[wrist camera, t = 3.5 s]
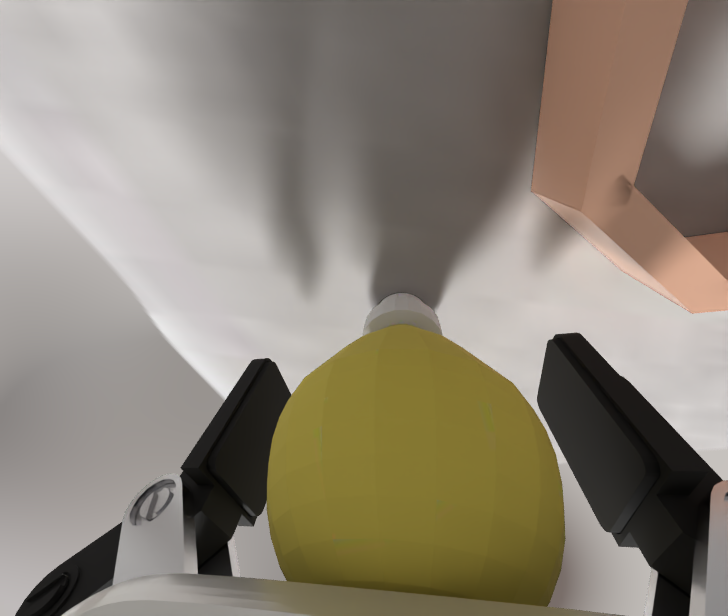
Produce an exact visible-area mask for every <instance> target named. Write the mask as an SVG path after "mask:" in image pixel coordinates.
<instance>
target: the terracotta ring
mask: <svg viewBox="0 0 728 616" xmlns="http://www.w3.org/2000/svg"><path fill="white" fill-rule="evenodd" d="M687 3H688V0H553V2H552V11H551V19H550V28H549V37H548V46H547V55H546V64H545V72H544V81H543V90H542V99H541V108H540V117H539V125H538V134H537V143H536V152H535V161H534V170H533V178H532V187H531V192H533V193H534V194H535V195H536V196H537V197H539V198H540V199H541V200H542V201H543V202H544V203H545V204H546V205H548V206H549V207H550V208H551V209H552V210H553V211H554V212H556V213H557V214H558V215H559V216H560V217H561V218H562V219H563V220H565V221H566V222H567V223H568V224H569V225H570V226H571V227H573V228H574V229H575V230H576V231H577V232H578V233H579V234H580V235H582V236H583V237H584V238H585V239H586V240H587V241H588V242H590V243H591V244H592V245H593V246H594V247H595V248H596V249H598V250H599V251H600V252H601V253H602V254H603V255H604V256H605V257H607V258H608V259H609V260H610V261H611V262H612V263H613V264H615V265H616V266H617V267H618V268H619V269H620V270H621V271H623V272H624V273H626V274H628V275H629V276H631V277H633V278H634V279H636V280H638V281H639V282H641V283H643V284H644V285H646V286H647V287H649V288H651V289H652V290H654V291H656V292H657V293H659V294H661V295H662V296H664V297H666V298H667V299H669V300H671V301H672V302H674V303H676V304H677V305H679V306H681V307H682V308H684V309H686V310H687V311H689V312H691V313H703V312H714V311H725V310H728V232H722V233H714V234H707V235H699V236H692V237H684V236H683V235H682V234H681V233H680V232H679V231H678V230H677V229H676V228H675V227H674V226H673V225H672V224H671V223H670V222H669V221H668V220H667V219H666V218H665V217H664V216H663V215H662V214H661V213H660V212H659V211H658V210H657V209H656V208H655V207H654V206H653V205H652V204H651V203H650V202H649V201H648V200H647V199H646V198H645V197H644V196H643V195H642V194H641V193H640V192H639V191H638V190H637V189H636V188H635V187H634V183H635V179H636V176H637V173H638V169H639V166H640V163H641V159H642V156H643V152H644V149H645V146H646V142H647V139H648V135H649V132H650V129H651V125H652V122H653V118H654V115H655V112H656V108H657V105H658V102H659V98H660V95H661V91H662V88H663V85H664V81H665V78H666V74H667V71H668V68H669V64H670V61H671V58H672V54H673V51H674V47H675V44H676V41H677V37H678V34H679V30H680V27H681V24H682V20H683V17H684V14H685V10H686V7H687Z"/></svg>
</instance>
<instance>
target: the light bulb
mask: <svg viewBox="0 0 728 616" xmlns="http://www.w3.org/2000/svg"><path fill="white" fill-rule="evenodd" d="M267 514H268V521H269V528H270V535H271V540H272V543H273V545H274V549H275V552H276V556H277V559H278V562H279V565H280V568H281V570H282V572H283V574H284V576H285V578H286V580H287V581H289V582H300V583H311V584H322V585H332V586H342V587H353V588H363V589H374V590H384V591H394V592H404V593H415V594H425V595H435V596H446V597H456V598H465V599H475V600H485V601H495V602H505V603H514V604H524V605H534V606H544V607H547V606H548V604H549V603H550V600H551V597H552V594H553V592H554V589H555V586H556V583H557V580H558V577H559V574H560V571H561V566H562V559H563V551H564V544H565V521H564V502H563V490H562V481H561V477H560V472H559V467H558V463H557V458H556V454H555V452H554V449H553V447H552V444H551V442H550V439H549V437H548V434H547V432H546V429H545V428H544V426H543V424H542V423H541V421H540V419H539V418H538V416H537V414H536V413H535V411H534V410H533V408H532V407H531V406H530V404H529V403H528V402H527V400H526V399H525V398H524V397H523V395H522V394H521V393H520V391H519V390H518V389H517V388H516V386H515V385H514V384H513V383H512V382H511V381H509V380H508V379H506V378H505V377H503V376H502V375H501V374H499V373H498V372H496V371H495V370H493V369H492V368H491V367H489V366H488V365H486V364H485V363H483V362H482V361H481V360H479V359H478V358H476V357H475V356H473V355H472V354H471V353H469V352H468V351H466V350H465V349H463V348H462V347H460V346H459V345H457V344H455V343H454V342H452V341H450V340H449V339H447V338H445V337H444V336H443V335H442V331H441V326H440V323H439V320H438V317H437V315H436V314H435V312H434V311H433V310H432V309H431V308H430V307H429V306H427V305H426V304H424V303H423V302H422V301H421V299H419V298H417V297H416V296H414V295H411V294H408V293H396V294H393V295H389V296H388V297H386V298H385V299H383V300H382V301H381V303H380V304H379V305H377V306H376V307H374V308H373V309H372V311H371V312H370V313H369V315H368V316H367V319H366V322H365V325H364V331H363V336H362V337H361V338H359V339H357V340H356V341H354V342H352V343H351V344H349V345H348V346H346V347H345V348H343V349H342V350H341V351H339V352H338V353H337V354H335V355H334V356H333V357H331V358H330V359H329V360H327V361H326V362H325V363H323V364H322V365H321V366H319V367H318V368H317V369H315V370H314V371H313V372H311V373H310V374H309V375H307V376H306V377H305V378H304V379H303V381H302V382H301V383H300V385H299V386H298V387H297V389H296V390H295V391H294V393H293V394H292V396H291V397H290V398H289V400H288V402H287V403H286V405H285V407H284V409H283V411H282V413H281V415H280V417H279V420H278V423H277V426H276V429H275V432H274V435H273V438H272V444H271V450H270V457H269V463H268V477H267Z"/></svg>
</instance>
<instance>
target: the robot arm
mask: <svg viewBox="0 0 728 616" xmlns="http://www.w3.org/2000/svg"><path fill="white" fill-rule="evenodd" d="M290 397H291V393H290V391H289V389H288V387H287V385H286V383H285V381H284V379H283V377H282V375H281V373H280V371H279V369H278V367H277V365H276V363H275V362H272V361H271V360H270V359H269V358H265V359H254V360H252V361H251V363H250V364H249V366H248V367H247V369H246V370H245V372H244V373H243V375H242V376H241V378H240V379H239V381H238V382H237V384H236V385H235V387H234V388H233V390H232V391H231V393H230V394H229V396H228V397H227V399H226V400H225V402H224V403H223V405H222V406H221V408H220V409H219V411H218V412H217V414H216V415H215V417H214V418H213V420H212V421H211V423H210V424H209V426H208V427H207V429H206V430H205V432H204V433H203V435H202V436H201V438H200V439H199V441H198V442H197V444H196V445H195V447H194V448H193V450H192V451H191V453H190V454H189V456H188V457H187V459H186V460H185V462H184V463H183V465H182V467H181V469H182V470H183V472H182V474H181V475H180V476H178V475H177V474H172V473H170V474H166V475H162V476H160V477H159V478H156V479H155V480H153V481H152V482H150V483H149V484H148V485H146V486H145V487H144V488H143V489H142V490H141V491H140V492H139V493H138V494H137V495H136V497H135V498H134V499H133V500H132V502H131V503H130V505H129V506H128V508H127V510H126V512H125V515H124V518H123V522H121V523H120V524H118V525H117V526H116V527H114V528H113V529H111V530H110V531H108V532H107V533H106V534H104V535H103V536H101V537H100V538H98V539H97V540H95V541H94V542H92V543H91V544H90V545H88V546H87V547H86V548H84V549H82V550H81V551H80V552H78V553H77V554H75V555H74V556H72V557H71V558H69V559H68V560H67V561H65V562H64V563H62V564H61V565H59V566H58V567H57V568H56V569H54V570H53V571H52V572H50V573H49V574H48V575H47V576H46V577H45V578H44V579H43V580H42V581H41V582H40V583H39V584H38V585H37V586H36V587H35V588H34V589H33V590H32V591H31V593H30V594H29V595H28V597H27V598H26V599H25V600H24V602H23V603H22V605H21V607H20V608H19V610H18V611H17V613H16V615H15V616H623V615H615V614H606V613H598V612H590V611H582V610H573V609H564V608H554V607H544V606H534V605H524V604H514V603H505V602H495V601H485V600H475V599H465V598H456V597H446V596H435V595H425V594H415V593H404V592H394V591H384V590H374V589H363V588H353V587H342V586H332V585H322V584H311V583H300V582H289V581H277V580H267V579H255V578H245V577H241V576H240V570H239V564H238V558H237V553H236V547H235V541H234V535H233V534H234V532H235V529H236V527H237V525H239V526H254V524H255V521H256V518H257V516H259V515H260V514H261V513H262V511H263V509H264V507H265V504H266V501H267V477H268V463H269V457H270V450H271V444H272V438H273V435H274V432H275V429H276V426H277V423H278V420H279V417H280V415H281V413H282V411H283V409H284V407H285V405H286V403H287V402H288V400H289V398H290ZM537 402H538V406H539V409H540V411H541V413H542V414H543V416H544V418H545V420H546V422H547V424H548V426H549V428H550V430H551V432H552V434H553V435H554V437H555V439H556V441H557V443H558V445H559V447H560V449H561V451H562V453H563V455H564V457H565V458H566V460H567V462H568V464H569V466H570V468H571V470H572V471H573V474H574V476H575V478H576V479H577V481H578V483H579V485H580V487H581V489H582V491H583V493H584V495H585V497H586V498H587V500H588V502H589V504H590V506H591V508H592V510H593V512H594V514H595V516H596V518H597V519H598V521H599V523H600V525H601V526H602V527H603V529H604V530H605V531H606V532H611V533H612V535H613V537H614V538H615V540H616V542H617V544H618V546H620V547H637V548H639V549H640V550H641V552H642V554H643V556H644V557H645V559H646V561H647V562H648V564H649V566H650V567H651V574H650V580H649V587H648V592H647V598H646V605H645V611H644V616H728V480H726V481H723V480H722V479H721V478H720V477H719V476H718V475H717V474H716V473H715V471H713V469H712V468H711V467H710V466H709V465H708V464H707V463H706V462H705V461H704V460H703V459H702V458H701V457H700V456H699V455H698V454H697V453H696V451H695V450H694V449H693V448H692V447H691V446H690V445H689V444H688V443H687V442H686V441H685V440H684V439H683V438H682V437H681V436H680V435H679V434H678V433H677V432H676V430H675V429H674V428H673V427H672V426H671V425H670V424H669V423H668V422H667V421H666V420H665V419H664V418H663V417H662V416H661V415H660V414H659V413H658V412H657V411H656V409H655V408H654V407H653V406H652V405H651V404H650V403H649V402H648V401H647V400H646V399H645V398H644V397H643V396H642V395H641V394H640V393H639V392H638V391H637V389H636V388H635V387H634V386H633V385H632V384H631V383H630V382H629V381H628V380H626V379H625V378H624V377H622V376H620V375H619V374H618V373H617V372H616V371H615V370H614V369H613V368H612V367H611V366H610V365H609V364H608V363H607V361H606V360H605V359H604V358H603V357H602V356H601V355H600V354H599V353H598V352H597V351H596V350H595V349H594V348H593V347H592V345H591V344H590V343H589V342H588V341H587V340H586V339H585V338H584V337H583V336H582V335H581V334H580V333H567V334H557V335H555V336H554V338H553V339H551V340H549V341H548V343H547V348H546V353H545V358H544V363H543V369H542V374H541V379H540V385H539V390H538V395H537Z"/></svg>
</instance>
